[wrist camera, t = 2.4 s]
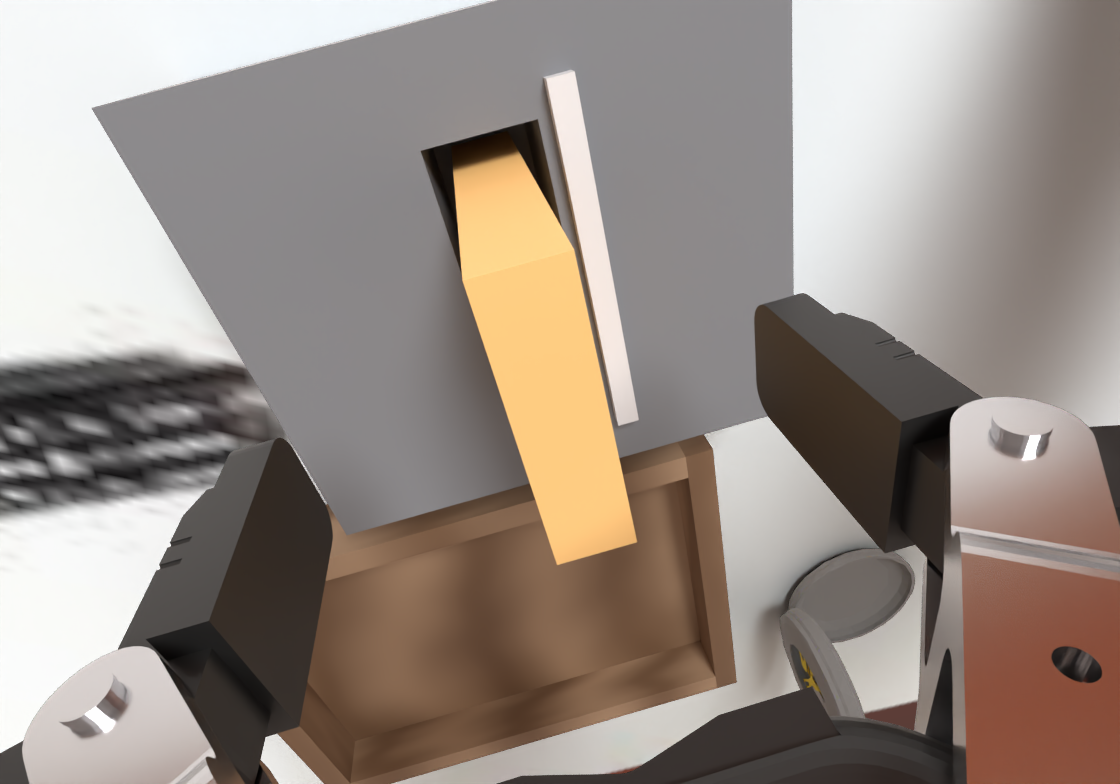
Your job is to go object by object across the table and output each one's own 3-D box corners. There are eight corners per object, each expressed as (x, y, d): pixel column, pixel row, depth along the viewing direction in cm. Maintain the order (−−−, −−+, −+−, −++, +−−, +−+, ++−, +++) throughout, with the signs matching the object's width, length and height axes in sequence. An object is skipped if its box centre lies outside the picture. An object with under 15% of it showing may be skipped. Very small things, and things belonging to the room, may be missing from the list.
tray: (684, 403, 24) (712, 449, 22) (713, 630, 32) (736, 682, 30) (188, 543, 24) (159, 606, 21) (346, 736, 32) (338, 798, 29)
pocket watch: (924, 570, 33) (1092, 763, 24) (804, 659, 35) (917, 860, 27) (842, 509, 29) (1006, 712, 21) (714, 613, 32) (813, 830, 23)
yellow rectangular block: (507, 130, 17) (574, 249, 8) (554, 320, 20) (637, 542, 12) (451, 146, 17) (462, 281, 8) (507, 333, 20) (557, 565, 12)
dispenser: (699, -55, 16) (801, -81, 12) (728, 335, 23) (800, 416, 18) (183, 82, 16) (81, 111, 11) (364, 437, 22) (344, 545, 18)
